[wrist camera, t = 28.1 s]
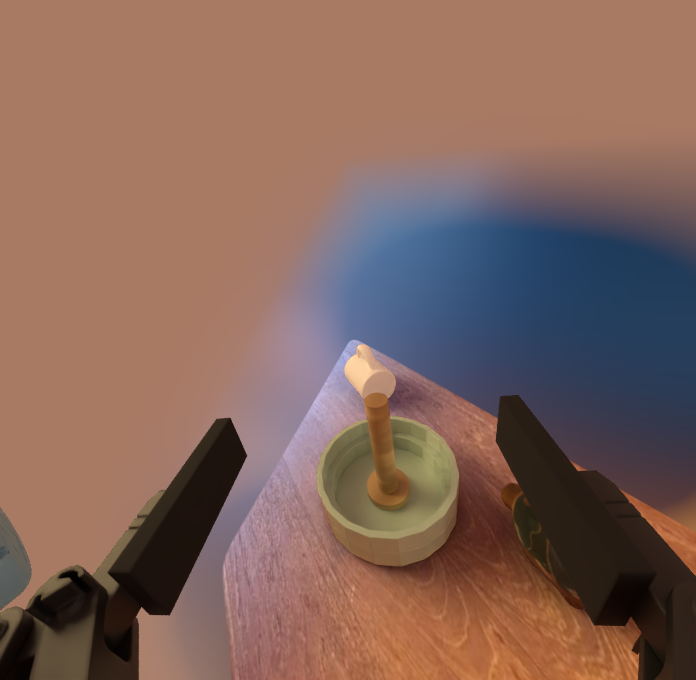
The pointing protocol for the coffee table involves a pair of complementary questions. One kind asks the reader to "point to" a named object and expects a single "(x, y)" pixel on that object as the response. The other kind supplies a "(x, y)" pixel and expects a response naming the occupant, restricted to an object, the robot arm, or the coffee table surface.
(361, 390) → the mug
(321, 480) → the bowl
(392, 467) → the wooden peg stand
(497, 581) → the coffee table surface
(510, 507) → the decorative turtle
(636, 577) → the robot arm
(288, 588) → the coffee table surface
